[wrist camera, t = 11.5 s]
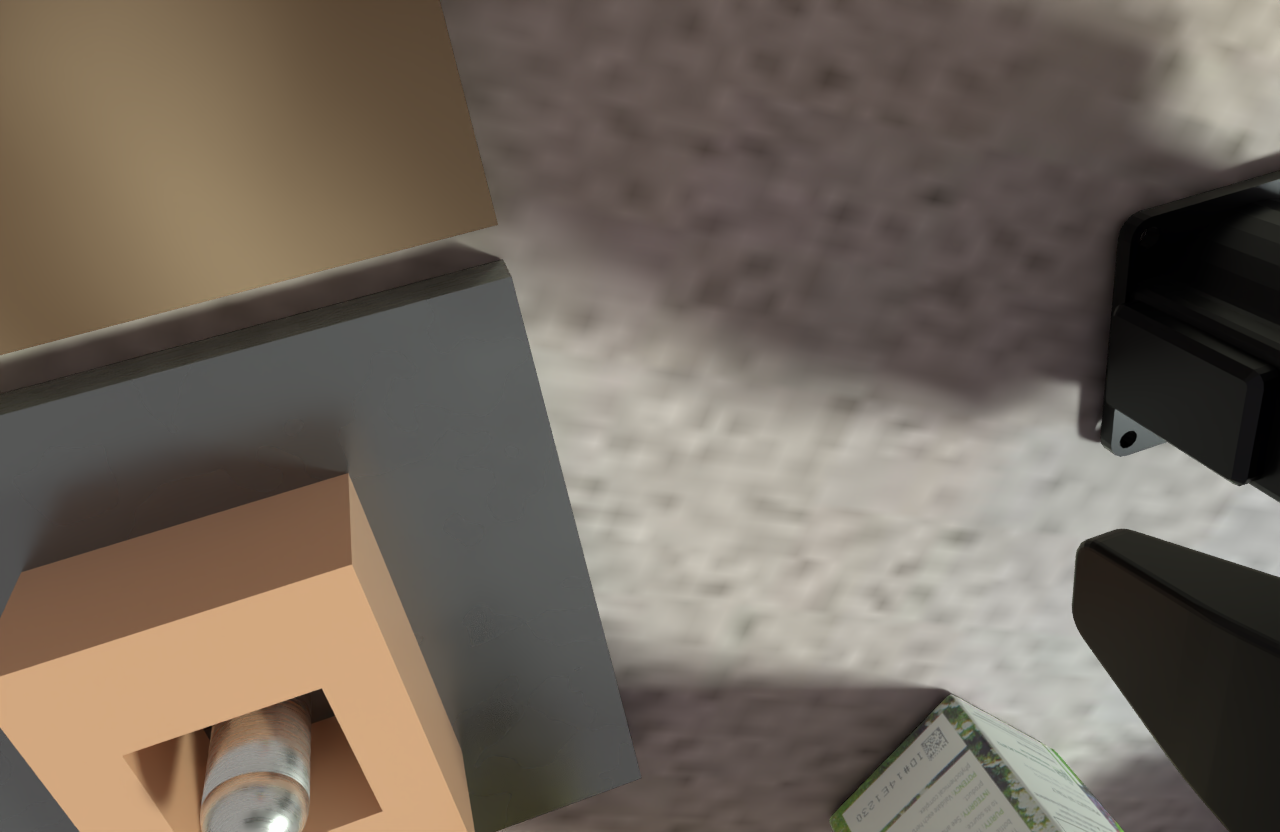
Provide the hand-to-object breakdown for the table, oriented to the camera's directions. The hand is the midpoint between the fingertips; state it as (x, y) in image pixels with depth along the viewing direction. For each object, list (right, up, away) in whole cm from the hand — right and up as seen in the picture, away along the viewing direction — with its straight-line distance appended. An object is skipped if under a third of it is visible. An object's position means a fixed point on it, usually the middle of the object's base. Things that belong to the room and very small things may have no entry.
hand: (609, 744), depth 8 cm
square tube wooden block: (-7, -3, +12) cm, 14 cm away
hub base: (-8, -2, +13) cm, 15 cm away
